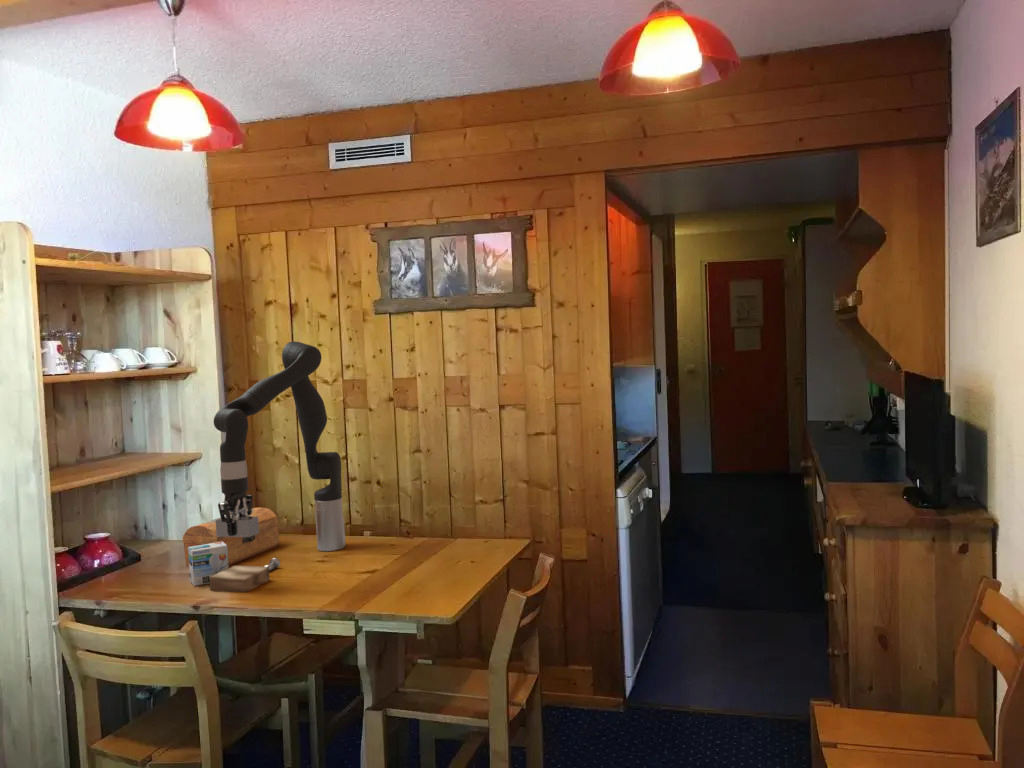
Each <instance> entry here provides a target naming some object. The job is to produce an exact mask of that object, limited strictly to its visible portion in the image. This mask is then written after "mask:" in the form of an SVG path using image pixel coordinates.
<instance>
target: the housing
mask: <svg viewBox="0 0 1024 768" xmlns="http://www.w3.org/2000/svg"><path fill="white" fill-rule="evenodd" d="M224 516H225V518H226V515H224ZM230 517H231V519H232V516H230ZM218 518H219V519H217V518H215V519H216V535H217V537H251V536H253V535H256V534H258V533H259V524H258V516H236V518H235V522H234V523H235V528H236V535H234V536H229V535H228V532H227V531H228V530H227V523H225V522H222V521H221V517H218Z"/></svg>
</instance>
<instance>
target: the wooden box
mask: <svg viewBox="0 0 1024 768" xmlns="http://www.w3.org/2000/svg"><path fill="white" fill-rule="evenodd" d="M247 511H248V510H247ZM230 516H232V515H230ZM236 516H238V514H237V515H236ZM248 516H258V524H259V533H258V534H256V535H253V536H251V537H217V535H216V519H219V518H220V517H217V518H215V519H212V520H209V521H205V522H202V523H201V524H197V525H193V526H190V527H189V528H187V529H186V531H185V532H184V534H183V535H182V544H183V550H184V558H185V565H186V567H187V566H188V567H189V555H188V547H192V546H198V545H204V544H210V543H216V542H221V541H223V542H224V543H225V544H226V545H227V548H228V566H231V565H233V564H235V563H238V562H241V561H244V560H247V559H248V558H251V557H254V556H256V555H258V554H261V553H264V552H266V551H269V550H271V549H273V547H274V548H276V546H277V547H278V546H279V543H280V529H279V518H278V516H277V514H275V512H274V511H273V510H271V509H269V508H267V507H252V513H251V515H248Z"/></svg>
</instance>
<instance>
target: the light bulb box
mask: <svg viewBox="0 0 1024 768" xmlns="http://www.w3.org/2000/svg"><path fill="white" fill-rule="evenodd" d="M188 555H189V566H188V567H189V568H188V569H189V581H190V583H191V584H192V585H193V586H194V587H195V586H202V585H207V584H210V578H209V577H211V576H213V575H215V574H217V573H219V572H222V571H224V570H226V569H228V568H230V567H229V566H230V565H228V548H227V545H226V544H225V543H224V542H223V541H221V542H216V543H210V544H204V545H198V546H192V547H188Z"/></svg>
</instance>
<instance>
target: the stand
mask: <svg viewBox="0 0 1024 768" xmlns="http://www.w3.org/2000/svg"><path fill="white" fill-rule="evenodd" d="M209 578H210V583H209V588H210V589H209V591H214V592H231V593H232V592H234V593H247V592H249V591H251V590H253V589H255V588H257V587H259V586H261V585H262V584H263V585H264V584H265V583H266V582H268V581H271V579H270V571H269V567H264V566H258V565H256V566H253V565H232V566H231V567H229V568H228V569H226V570H224V571H222V572H219V573H217V574H215V575H213V576H211V577H209Z"/></svg>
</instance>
